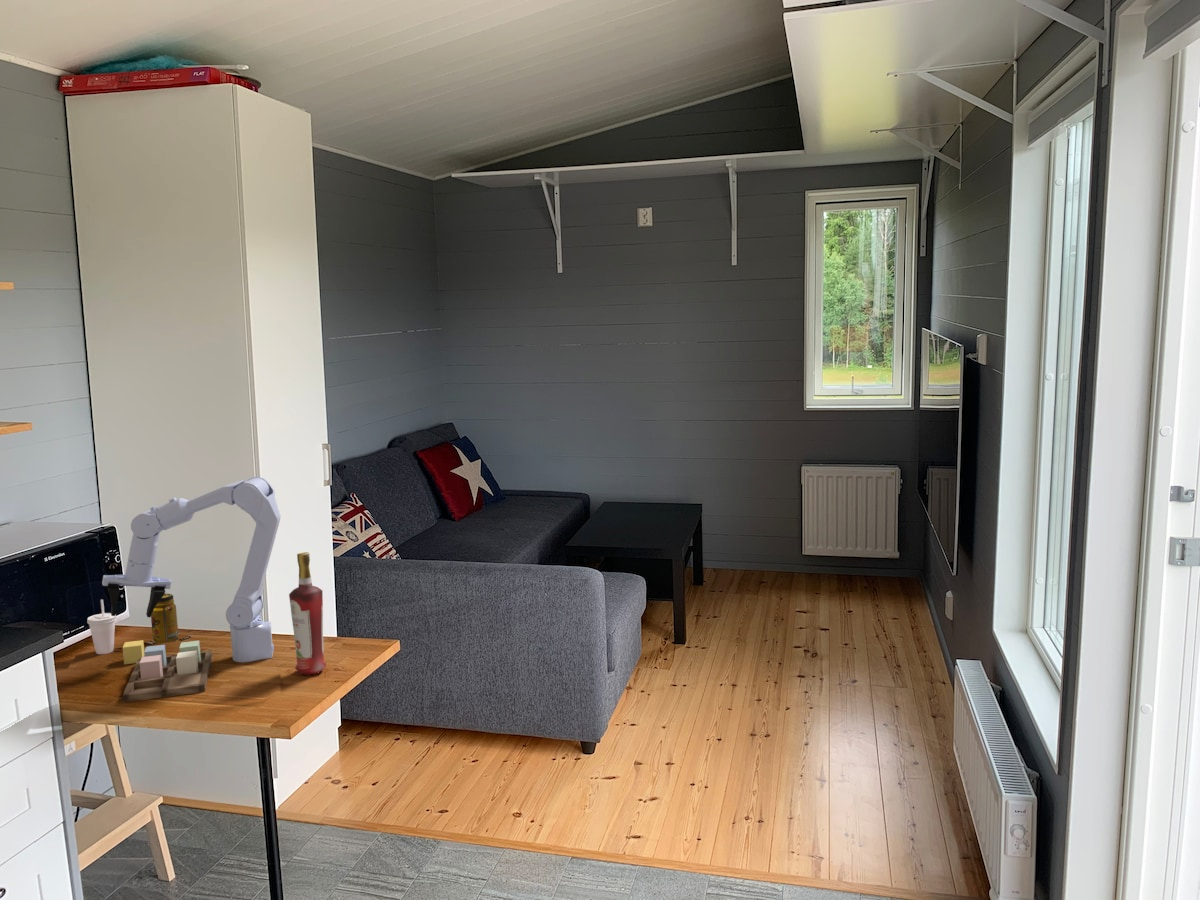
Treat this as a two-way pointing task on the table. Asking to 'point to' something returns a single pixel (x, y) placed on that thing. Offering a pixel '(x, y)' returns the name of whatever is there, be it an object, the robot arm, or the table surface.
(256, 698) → the table surface
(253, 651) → the robot arm
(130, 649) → the mustard block
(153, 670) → the rose block
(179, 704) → the table surface
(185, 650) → the sage block
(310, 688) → the table surface
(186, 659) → the cream block
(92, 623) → the smoothie
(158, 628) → the condiment
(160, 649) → the blue block
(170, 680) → the block tray
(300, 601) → the liquor
